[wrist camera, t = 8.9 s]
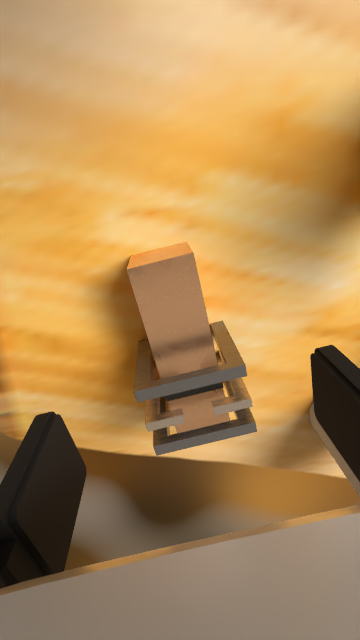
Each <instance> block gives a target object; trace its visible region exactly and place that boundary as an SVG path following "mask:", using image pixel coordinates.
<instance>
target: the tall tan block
mask: <svg viewBox="0 0 360 640" xmlns="http://www.w3.org/2000/svg"><path fill="white" fill-rule="evenodd" d="M126 270H127V273H128V276H129V279H130V283H131V286H132V289H133V292H134V295H135V299H136V302H137V305H138V308H139V311H140V315H141V318H142V321H143V324H144V327H145V331H146V334H147V337H148V340H149V343H150V347H151V350H152V353H153V356H154V359H155V363H156V366H157V369H158V372H159V376H160V379H163V378H167V377H171V376H176V375H180V374H184V373H188V372H192V371H196V370H200V369H204V368H208V367H212V366H217V365H218V363H217V359H216V354H215V350H214V345H213V340H212V336H211V331H210V327H209V322H208V318H207V313H206V308H205V304H204V299H203V295H202V290H201V286H200V281H199V276H198V272H197V267H196V263H195V258H194V253H193V251H192V250H191V248H190V246H189V245H188V243H187V242H183V243H180V244H176V245H172V246H168V247H164V248H160V249H156V250H152V251H148V252H144V253H140V254H136V255H132V256H131V258H130V260H129V263H128V266H127V269H126ZM165 397H166V400H167V401H168V404H169V408H170V411H172V410H176V409H180V408H182V410H183V413H184V418H185V423H182V424H178V425H175V427H176V430H177V433H181V432H185V431H190V430H194V429H198V428H202V427H206V426H210V425H215V424H219V423H223V422H227V421H230V418H229V414H228V413H223V414H219V415H215V414H214V410H213V406H212V402H211V401H214V400H218V399H222V398H225V395H224V391H223V383H222V382H220V383H216V384H212V385H208V386H204V387H200V388H196V389H191V390H187V391H183V392H179V393H175V394H171V395H167V396H165Z"/></svg>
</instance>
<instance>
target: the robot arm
mask: <svg viewBox="0 0 360 640" xmlns="http://www.w3.org/2000/svg"><path fill="white" fill-rule="evenodd" d="M311 372H312V387H313V402H314V413H315V416H316V419H317V421H318V422H319V424H320V425H321V427H322V428H323V430H324V431H325V433H326V434H327V435H328V437H329V438H330V440H331V441H332V443H333V444H334V446H335V447H336V449H337V450H338V451H339V453H340V454H341V456H342V457H343V459H344V460H345V462H346V463H347V464H348V466H349V467H350V469H351V470H352V472H353V473H354V475H355V476H356V478H357V479H358V480H359V482H360V369H359V368H358V367H357V366H356V365H355V364H354V363H352V362H351V361H350V360H349V359H348V358H347V357H346V356H345V355H344V354H342V353H341V352H340V351H339V350H338V349H337V348H336V347H335V346H333V345H329V346H325V347H320V348H316V349H315V353H313V354H311ZM85 478H86V466H85V464H84V461H83V460H82V458H81V455H80V453H79V451H78V449H77V447H76V445H75V443H74V441H73V439H72V437H71V435H70V433H69V431H68V429H67V427H66V425H65V423H64V421H63V419H62V417H61V416H60V415H59V414H57V415H56V414H55V413H54V412H48V413H44V414H40V415H37V416H36V417H35V418H34V420H33V422H32V424H31V426H30V428H29V430H28V432H27V434H26V435H25V437H24V439H23V441H22V444H21V445H20V447H19V449H18V451H17V453H16V455H15V457H14V459H13V461H12V463H11V465H10V467H9V469H8V471H7V473H6V475H5V477H4V479H3V481H2V482H1V485H0V640H360V505H356V506H351V507H346V508H341V509H337V510H332V511H327V512H323V513H318V514H313V515H309V516H304V517H300V518H296V519H290V520H286V521H281V522H277V523H273V524H268V525H263V526H259V527H254V528H250V529H245V530H241V531H236V532H232V533H228V534H223V535H219V536H215V537H210V538H205V539H201V540H197V541H192V542H188V543H183V544H179V545H175V546H170V547H166V548H161V549H157V550H153V551H148V552H144V553H140V554H136V555H131V556H127V557H122V558H118V559H114V560H110V561H105V562H101V563H97V564H92V565H88V566H84V567H80V568H75V569H71V570H67V571H64V568H65V564H66V560H67V555H68V551H69V547H70V543H71V538H72V534H73V530H74V526H75V521H76V516H77V513H78V508H79V504H80V500H81V495H82V491H83V487H84V482H85Z"/></svg>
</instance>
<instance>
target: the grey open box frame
mask: <svg viewBox="0 0 360 640" xmlns="http://www.w3.org/2000/svg"><path fill="white" fill-rule="evenodd" d="M211 328H212V333H213V335H214V338H215V340H216V343H217V345H218V348H219V350H218V351H219V356H220V359H221V362H222V364H221V365H217V366H212V367H208V368H204V369H200V370H196V371H192V372H188V373H184V374H180V375H176V376H171V377H167V378H163V379H159V372H158V369H157V366H153V353H152V350H151V347H150V343H149V340H148V339H147V340H143V341H139V344H138V354H137V364H136V373H135V383H134V394H135V397H136V400H137V403H138V402H142V401H146V415H145V425H146V428H147V430H148V432H149V431H153V447H154V450H155V453H156V455H161V454H165V453H169V452H173V451H177V450H182V449H186V448H190V447H194V446H198V445H203V444H207V443H211V442H215V441H219V440H224V439H228V438H232V437H236V436H240V435H245V434H249V433H253V432H257V429H256V424H255V420H254V418H253V416H252V413H251V411H250V409H249V407H253V406H252V401H251V397H250V395H249V393H248V391H247V388H246V386H245V384H244V382H243V380H242V378H241V377H245V376H247V372H246V367H245V363H244V362H243V360H242V358H241V356H240V354H239V352H238V350H237V348H236V346H235V344H234V342H233V340H232V338H231V336H230V334H229V332H228V330H227V328H226V327H225V325H224V323H223V321H220V322H216V323H212V324H211ZM220 382H224V385H225V387H226V390H227V393H228V396H229V397H226V398H222V399H218V400H214V401H211V402H212V406H213V410H214V414H215V415H219V414H223V413H228V412H232V411H234V413H235V415H236V418H237V419H236V420H231V421H227V422H223V423H219V424H215V425H210V426H206V427H202V428H198V429H194V430H190V431H185V432H181V433H177V434H173V435H170V431H169V426H174V425H178V424H182V423H185V418H184V413H183V410H182V408H180V409H176V410H172V411H168V401H167V400H166V397H165V396H167V395H171V394H175V393H179V392H183V391H187V390H191V389H196V388H200V387H204V386H208V385H212V384H216V383H220Z"/></svg>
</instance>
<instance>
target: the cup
mask: <svg viewBox="0 0 360 640" xmlns="http://www.w3.org/2000/svg"><path fill="white" fill-rule="evenodd" d="M309 414H310V423H311V425H312V426H313V428H314V429H315V431H316V432H317V434H318V435H319V437H320V438H321V440H322V441H323V443H324V444H325V446H326V447H327V449H328V450H329V452H330V453H331V455H332V456H333V458H334V459H335V461H336V462H337V464H338V465H339V467H340V468H341V470H342V471H343V473H344V474H345V476H346V477H347V479H348V480H349V482H350V483H351V485H352V486H353V488H354V489H355V491H356V492H357V494H358V495H359V497H360V482H359V480H358V479H357V478H356V476H355V475H354V473H353V472H352V470H351V469H350V467H349V466H348V464H347V463H346V462H345V460H344V459H343V457H342V456H341V454H340V453H339V451H338V450H337V449H336V447H335V446H334V444H333V443H332V441H331V440H330V438H329V437H328V435H327V434H326V433H325V431H324V430H323V428H322V427H321V425H320V424H319V422H318V421H317V419H316V416H315V413H314V402H313V403H312V405H311V407H310V409H309Z"/></svg>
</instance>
